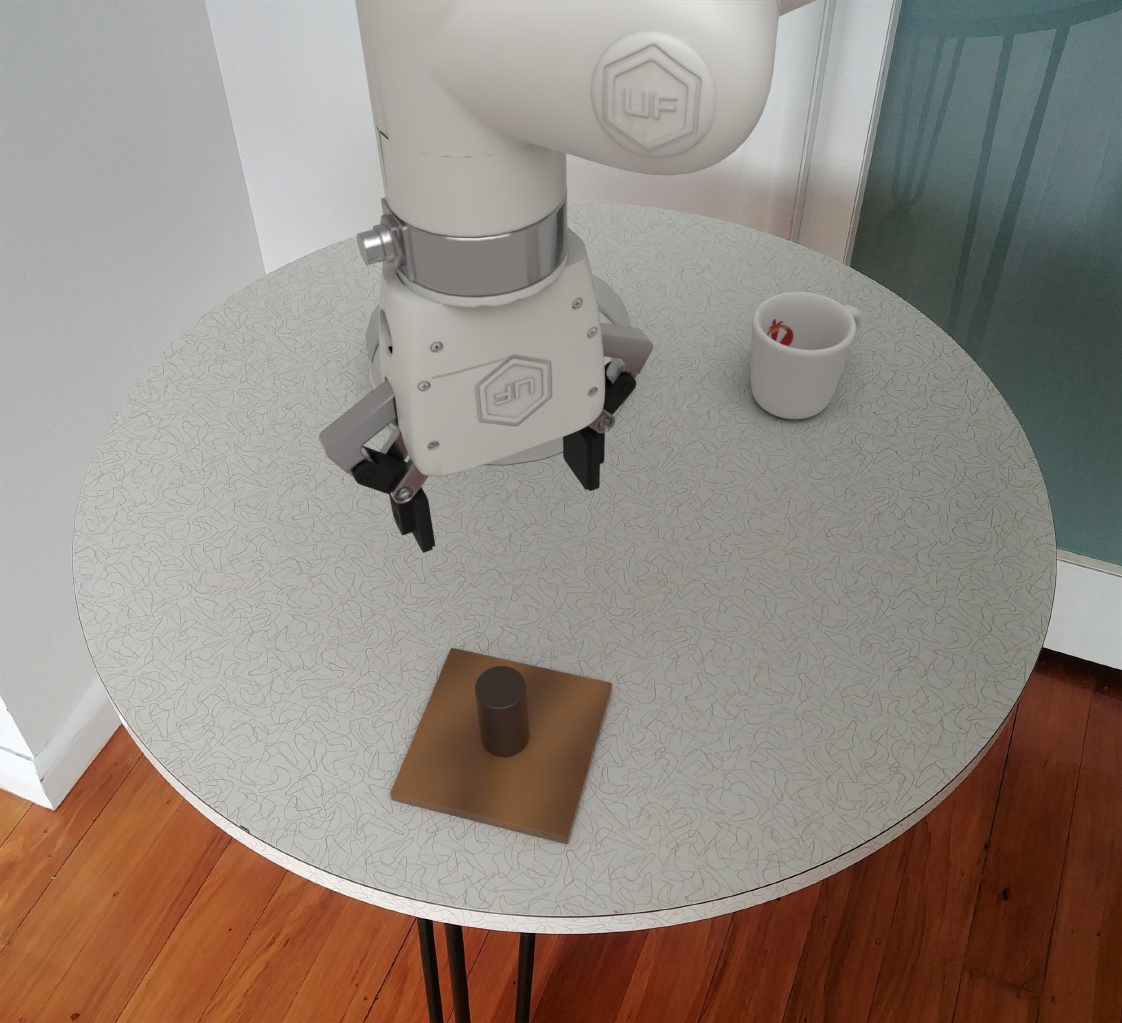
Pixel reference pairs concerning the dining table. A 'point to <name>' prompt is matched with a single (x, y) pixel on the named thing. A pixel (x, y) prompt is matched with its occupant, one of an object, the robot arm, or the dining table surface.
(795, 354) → the cup
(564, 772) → the square peg stand
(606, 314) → the dish
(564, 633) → the dining table surface
